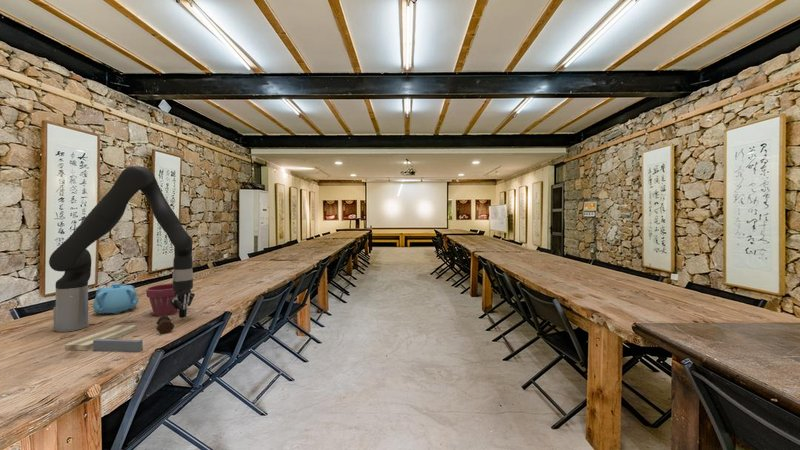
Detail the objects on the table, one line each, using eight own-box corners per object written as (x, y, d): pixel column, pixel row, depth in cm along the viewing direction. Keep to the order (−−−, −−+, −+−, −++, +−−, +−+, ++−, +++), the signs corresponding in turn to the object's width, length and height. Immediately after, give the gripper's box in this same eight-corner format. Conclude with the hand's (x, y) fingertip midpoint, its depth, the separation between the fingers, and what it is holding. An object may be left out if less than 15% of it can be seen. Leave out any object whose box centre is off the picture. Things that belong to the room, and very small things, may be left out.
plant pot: (144, 319, 143) (144, 291, 142) (148, 311, 154) (148, 285, 154) (183, 314, 150) (183, 287, 150) (183, 307, 162) (183, 282, 162)
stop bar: (93, 350, 109) (93, 340, 109) (97, 348, 111) (97, 338, 111) (138, 351, 109) (138, 341, 109) (142, 349, 110) (142, 339, 110)
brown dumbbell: (165, 327, 138) (168, 336, 126) (152, 323, 135) (154, 332, 124) (173, 314, 140) (176, 322, 128) (161, 310, 137) (163, 318, 125)
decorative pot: (137, 312, 152) (137, 284, 152) (90, 318, 142) (90, 288, 142) (138, 305, 165) (139, 279, 165) (96, 309, 155) (96, 282, 155)
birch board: (65, 349, 109) (65, 344, 109) (117, 329, 129) (117, 325, 129) (87, 350, 109) (87, 345, 109) (137, 329, 129) (137, 325, 129)
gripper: (184, 275, 148) (184, 312, 148) (163, 281, 135) (163, 321, 135) (200, 276, 148) (200, 312, 148) (180, 281, 135) (180, 322, 135)
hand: (182, 317), depth 142 cm, fingers closed
